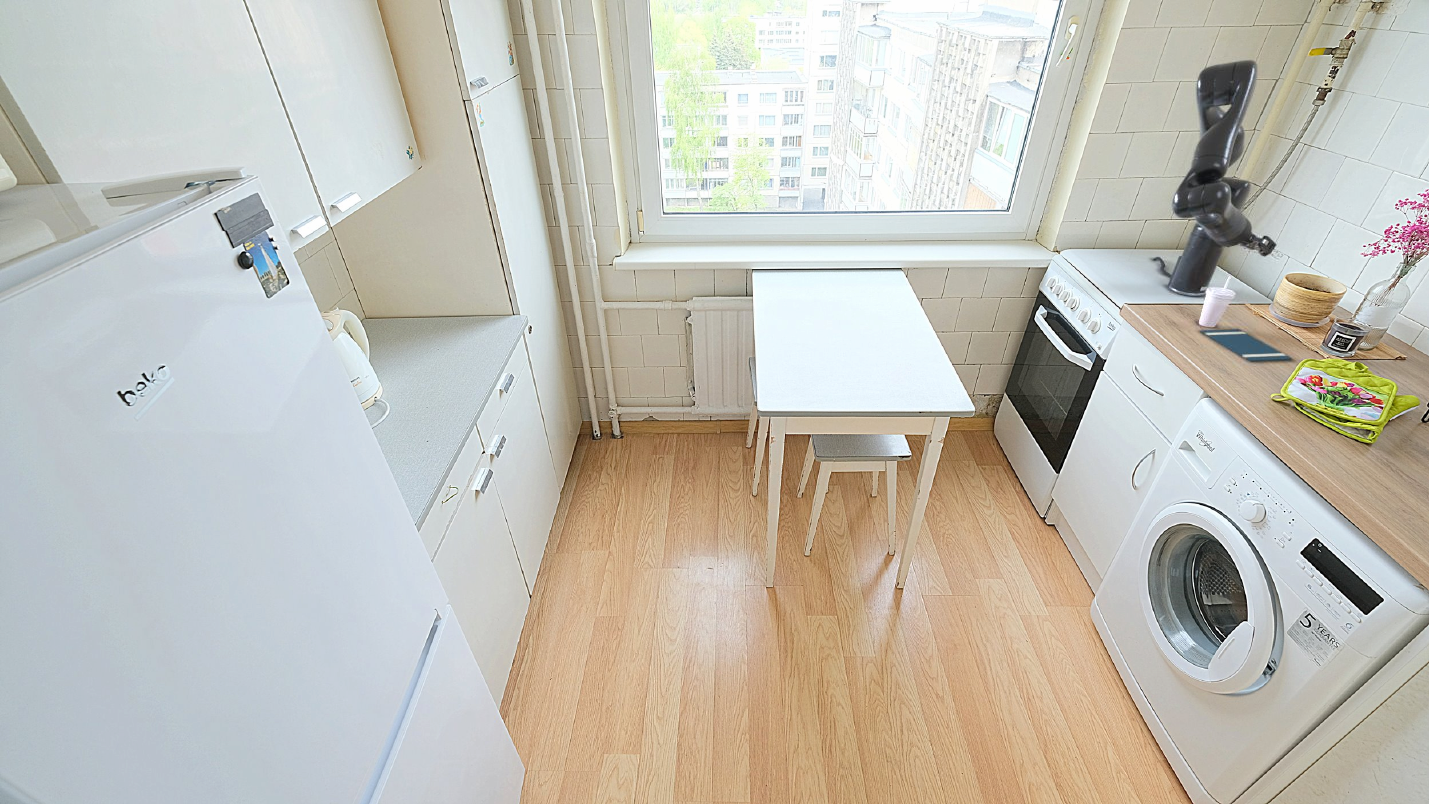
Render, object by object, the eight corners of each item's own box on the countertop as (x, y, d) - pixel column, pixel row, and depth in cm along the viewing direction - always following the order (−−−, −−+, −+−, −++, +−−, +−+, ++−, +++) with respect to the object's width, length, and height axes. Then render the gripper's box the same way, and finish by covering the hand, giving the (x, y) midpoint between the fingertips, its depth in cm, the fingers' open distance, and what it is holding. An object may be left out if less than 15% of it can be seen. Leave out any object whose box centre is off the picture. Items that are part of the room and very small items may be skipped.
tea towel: (1200, 331, 170) (1201, 330, 169) (1237, 330, 170) (1238, 329, 170) (1250, 361, 155) (1251, 360, 155) (1291, 359, 156) (1292, 358, 155)
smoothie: (1225, 330, 170) (1248, 280, 163) (1198, 328, 171) (1220, 279, 164) (1214, 320, 176) (1235, 272, 168) (1188, 318, 177) (1209, 270, 169)
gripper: (1269, 217, 145) (1289, 241, 155) (1205, 204, 156) (1227, 227, 166) (1248, 248, 148) (1269, 270, 157) (1186, 233, 159) (1209, 254, 168)
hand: (1248, 248), depth 161 cm, fingers open, 8 cm apart
